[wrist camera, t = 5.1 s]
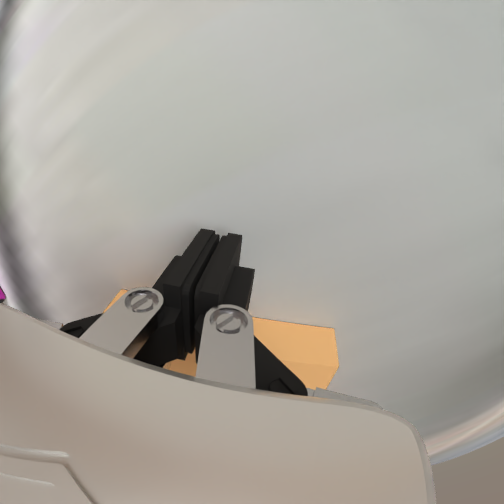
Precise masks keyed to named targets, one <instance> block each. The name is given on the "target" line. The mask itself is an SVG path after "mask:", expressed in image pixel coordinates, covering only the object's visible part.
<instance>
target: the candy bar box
mask: <svg viewBox="0 0 504 504" xmlns="http://www.w3.org/2000/svg"><path fill="white" fill-rule="evenodd" d="M5 298H6V297H5V294H4V293H3V291H2V289H1V288H0V303H2V302H3V301H4V300H5Z"/></svg>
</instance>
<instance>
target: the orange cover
mask: <svg viewBox="0 0 504 504" xmlns="http://www.w3.org/2000/svg"><path fill="white" fill-rule="evenodd" d="M126 292H127V290H123V289H121V290H120V292H119V293H118V294H117V295H116V297H115V298H114V299H113V300H112V302H111V303H110V304H109V305H108V307H107V308H106V309H105V310H104V312H103V313H105V312H106V311H107V310H108V309H109V308H110V307H111V306H112V305H113V304H114V303H115V302H116V301H117V300H118V299H119V298H120V297H121V296H122V295H123V294H125V293H126ZM252 319H253V329H254V336H255V337H256V338H257V339H258V340H259V341H260V342H261V343H262V344H263V345H265V346H266V347H267V348H268V349H269V350H270V351H271V352H272V353H273V354H274V355H275V356H276V357H277V358H278V359H279V360H280V361H281V362H282V363H283V364H284V365H285V366H286V367H287V368H288V369H290V370H291V371H292V372H293V373H294V374H295V375H296V376H297V377H298V378H299V379H300V380H301V381H302V382H303V383H304V385H305V386H306V388H310V389H313V390H315V389H316V387H318V388H322V389H325V390H326V388H327V386H328V385H329V383H330V381H331V380H332V378H333V376H334V374H335V373H336V371H337V369H338V367H339V362H338V354H337V346H336V339H335V332H334V329H333V328H325V327H317V326H309V325H302V324H294V323H287V322H281V321H274V320H268V319H261V318H255V317H252ZM169 370H171V371H175V372H179V373H183V374H186V375H190V376H194V377H196V370H197V364H196V356H195V349H194V351H193V353H192V354H190V353H188V354H187V356H186V359H185V361H184V360H180V359H176V360H173V361H171V367H170V369H169Z"/></svg>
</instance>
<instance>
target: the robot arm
mask: <svg viewBox="0 0 504 504" xmlns="http://www.w3.org/2000/svg"><path fill="white" fill-rule="evenodd" d="M241 243H242V235H238V234H232V233H228V235H227V236H222V238H221V240H220V242H219V235H216V234H215V231H213V230H207V229H201V230H200V231H199V232H198V234H197V235H196V236H195V238H194V239H193V241H192V242H191V243H190V245H189V246H188V248H187V249H186V250H185V252H184V253H183V255H182V256H175V257H174V258H173V260H172V261H171V262H170V264H169V265H168V266H167V268H166V269H165V271H164V272H163V273H162V275H161V276H160V278H159V279H158V280H157V282H156V283H155V285H154V286H153V287H152V288H149V287H138V288H134V289H131V290H129V291H127V292H126V293H125V294H123V295H122V296H121V297H120V298H119V299H118V300H117V301H116V302H115V303H114V304H113V305H112V306H111V307H110V308H109V309H108V310H107V311H106V312H105V313H102V314H98V315H95V316H91V317H88V318H84V319H81V320H77V321H74V322H70V323H68V324H66V325H64V326H63V324H62V323H58V322H52V321H47V320H42V319H37V318H33V317H31V316H29V315H27V314H25V313H23V312H21V311H19V310H16V309H14V308H12V307H10V306H7V305H4V304H2V303H0V504H436V496H435V487H434V480H433V474H432V469H431V464H430V460H429V456H428V453H427V450H426V447H425V444H424V441H423V439H422V437H421V435H420V433H419V432H418V430H417V429H416V428H415V427H414V425H412V424H411V423H410V422H409V421H407V420H406V419H404V418H402V417H400V416H398V415H396V414H394V413H391V412H389V411H386V410H383V408H382V407H381V406H379V405H378V404H377V403H375V402H372V401H370V400H365V399H361V398H356V397H352V396H348V395H344V394H340V393H336V392H332V391H329V390H325V389H322V388H318V387H316V389H315V390H313V389H310V388H306V386H305V385H304V383H303V382H302V381H301V380H300V379H299V378H298V377H297V376H296V375H295V374H294V373H293V372H292V371H291V370H290V369H288V368H287V367H286V366H285V365H284V364H283V363H282V362H281V361H280V360H279V359H278V358H277V357H276V356H275V355H274V354H273V353H272V352H271V351H270V350H269V349H268V348H267V347H266V346H265V345H263V344H262V343H261V342H260V341H259V340H258V339H257V338H256V337H255V336H254V329H253V319H252V316H251V315H250V314H249V312H248V307H249V303H250V297H251V292H252V285H253V279H254V272H255V269H251V268H245V267H239V260H240V252H241ZM194 349H195V356H196V364H197V370H196V377H194V376H190V375H186V374H183V373H179V372H175V371H171V370H169V369H170V367H171V361H173V360H176V359H180V360H184V361H185V359H186V356H187V354H188V353H190V354H192V353H193V351H194Z"/></svg>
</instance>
